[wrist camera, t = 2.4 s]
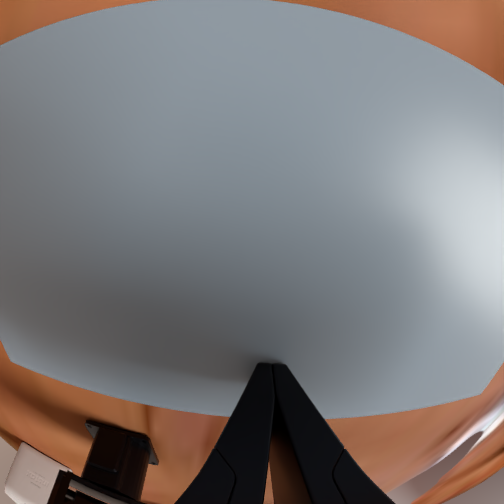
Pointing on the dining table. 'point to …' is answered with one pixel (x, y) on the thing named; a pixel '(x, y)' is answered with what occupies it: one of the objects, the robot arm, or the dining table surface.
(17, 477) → the photo printer
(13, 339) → the box lid
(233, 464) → the robot arm
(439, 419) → the dining table surface
